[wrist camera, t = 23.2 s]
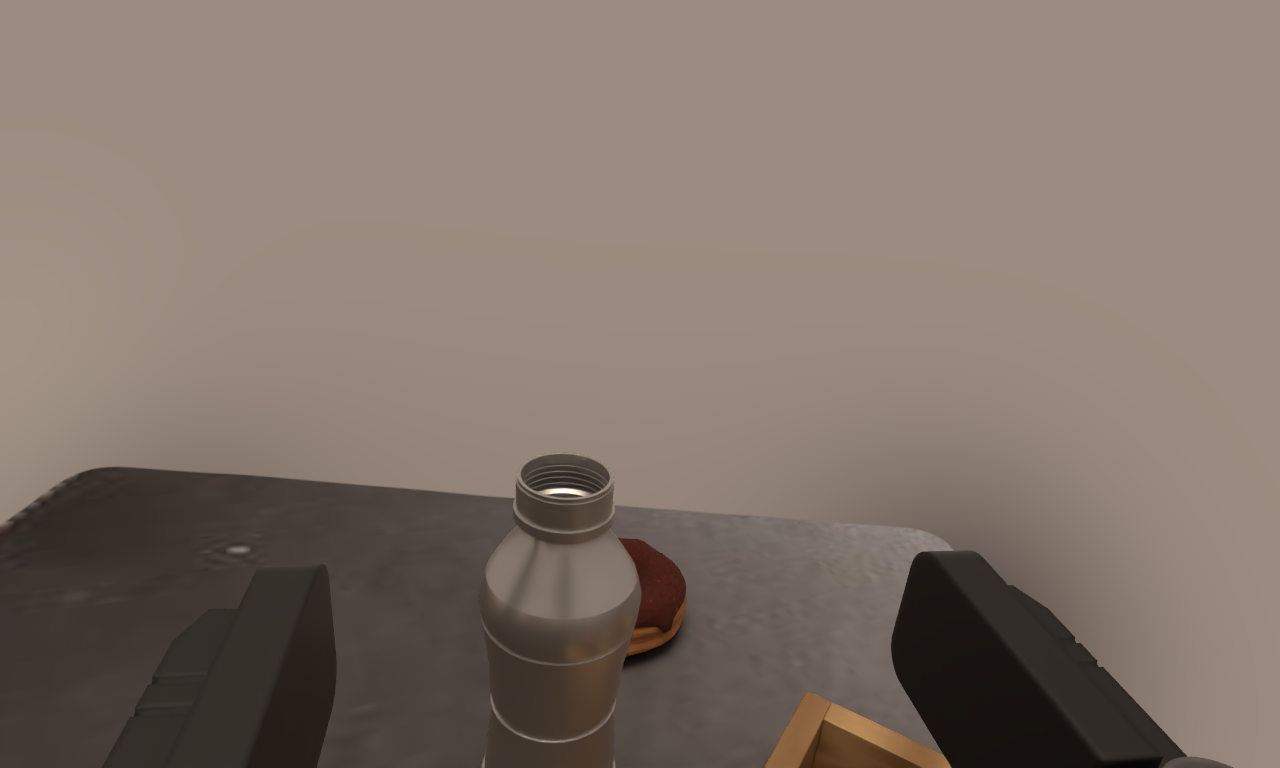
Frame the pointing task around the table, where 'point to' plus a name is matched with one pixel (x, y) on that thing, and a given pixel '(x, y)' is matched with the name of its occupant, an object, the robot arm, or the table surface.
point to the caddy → (845, 741)
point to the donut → (655, 597)
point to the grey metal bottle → (557, 619)
